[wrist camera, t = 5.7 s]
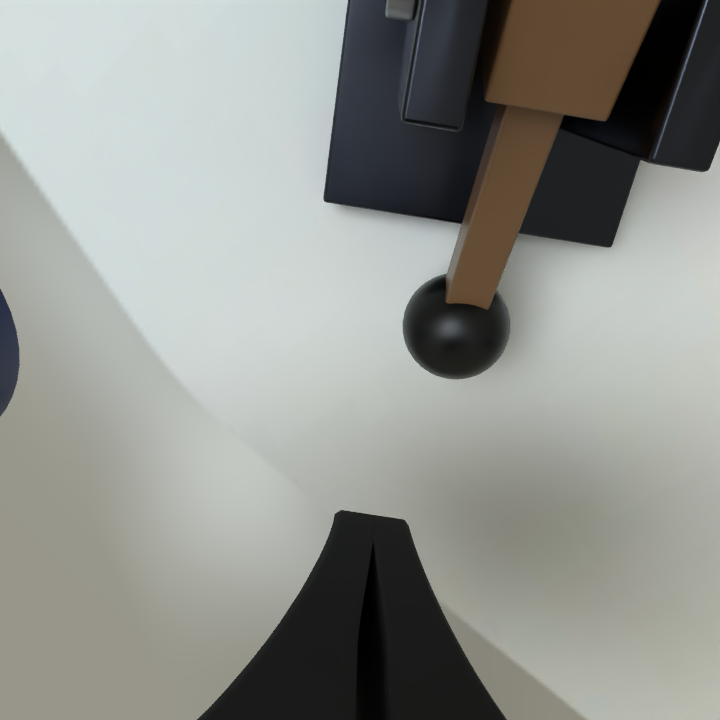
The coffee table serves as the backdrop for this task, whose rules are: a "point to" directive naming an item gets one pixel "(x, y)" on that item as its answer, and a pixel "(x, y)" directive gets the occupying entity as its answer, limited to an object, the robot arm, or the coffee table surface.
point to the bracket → (475, 115)
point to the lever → (519, 159)
